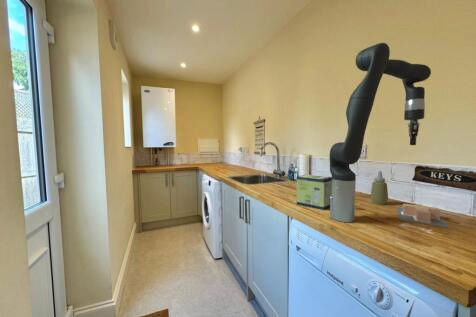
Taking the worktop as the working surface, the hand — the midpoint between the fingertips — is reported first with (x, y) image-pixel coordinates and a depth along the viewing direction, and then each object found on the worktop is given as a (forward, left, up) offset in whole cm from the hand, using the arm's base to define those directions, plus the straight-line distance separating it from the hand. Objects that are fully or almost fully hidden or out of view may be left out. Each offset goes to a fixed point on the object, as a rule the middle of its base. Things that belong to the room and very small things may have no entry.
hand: (412, 145), depth 102 cm
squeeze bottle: (-13, +2, -32) cm, 35 cm away
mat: (+2, -12, -32) cm, 34 cm away
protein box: (-42, -19, -32) cm, 56 cm away
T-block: (+2, -16, -32) cm, 35 cm away
